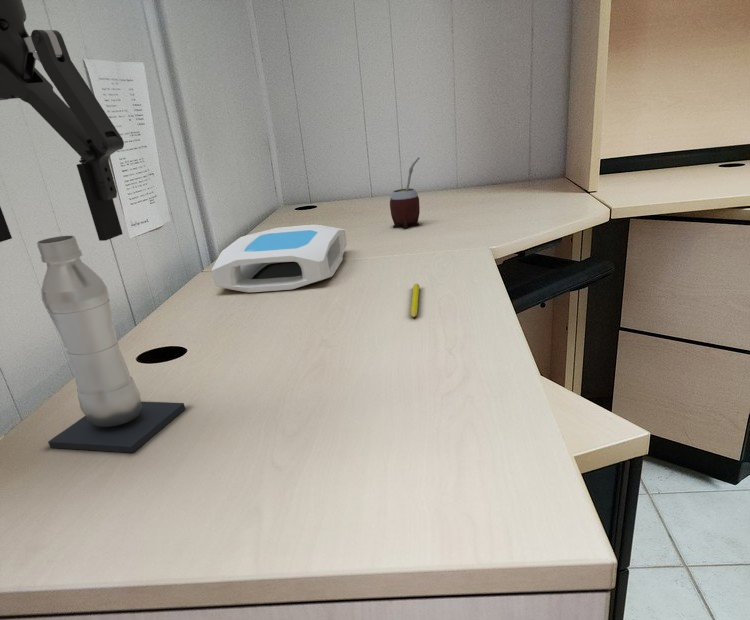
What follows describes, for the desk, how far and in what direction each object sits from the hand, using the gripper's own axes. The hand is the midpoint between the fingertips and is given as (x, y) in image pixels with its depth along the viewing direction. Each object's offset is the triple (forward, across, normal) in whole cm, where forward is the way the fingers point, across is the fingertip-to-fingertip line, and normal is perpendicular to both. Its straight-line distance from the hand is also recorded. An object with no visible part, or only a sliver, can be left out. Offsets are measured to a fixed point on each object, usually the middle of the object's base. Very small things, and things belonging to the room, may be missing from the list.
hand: (54, 240), depth 66 cm
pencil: (+21, +24, +46) cm, 56 cm away
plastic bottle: (+20, 0, 0) cm, 20 cm away
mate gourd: (+21, +8, +108) cm, 110 cm away
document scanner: (+21, -8, +68) cm, 71 cm away
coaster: (+21, 0, 0) cm, 21 cm away
